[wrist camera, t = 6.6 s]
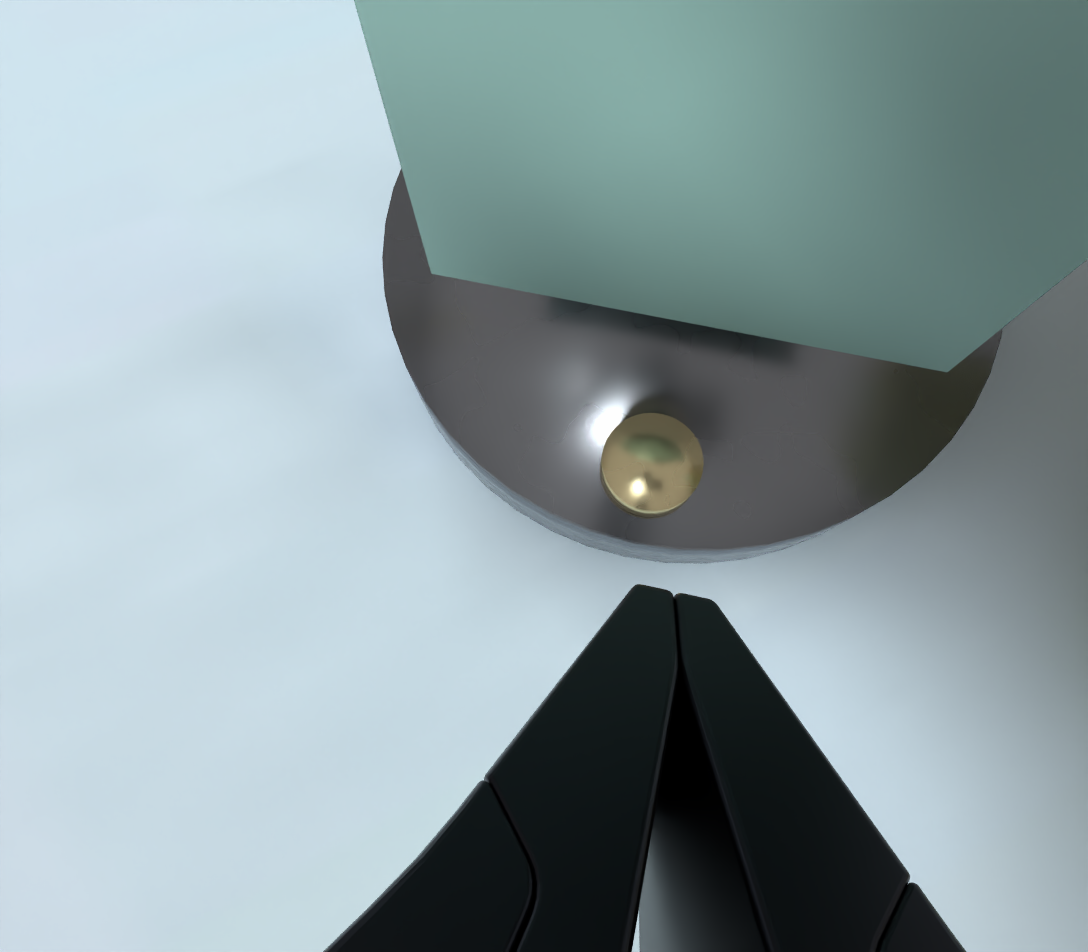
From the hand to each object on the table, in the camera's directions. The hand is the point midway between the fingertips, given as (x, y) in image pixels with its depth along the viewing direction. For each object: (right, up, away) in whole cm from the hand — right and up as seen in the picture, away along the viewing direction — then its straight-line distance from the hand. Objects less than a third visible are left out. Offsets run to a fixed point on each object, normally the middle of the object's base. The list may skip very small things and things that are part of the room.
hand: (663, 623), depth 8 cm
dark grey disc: (+2, +6, +11) cm, 13 cm away
